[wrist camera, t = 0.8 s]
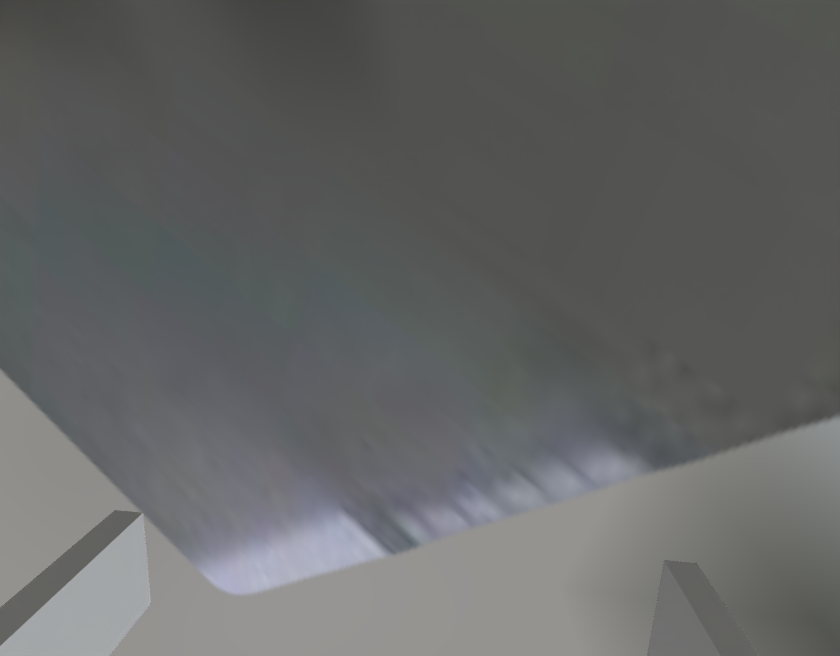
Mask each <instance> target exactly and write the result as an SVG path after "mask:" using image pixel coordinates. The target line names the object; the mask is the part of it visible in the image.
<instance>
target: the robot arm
mask: <svg viewBox="0 0 840 656" xmlns="http://www.w3.org/2000/svg"><path fill="white" fill-rule="evenodd" d="M150 604H151V598H150V586H149V575H148V564H147V552H146V541H145V529H144V518H143V513H138V512H128V511H117V510H115V511H114V512H113V513H111V514H110V515H109V516H108V517H106V518H105V519H104V520H103V521H102V522H101V523H99V524H98V525H97V526H96V527H95V528H93V529H92V530H91V531H90V532H89V533H88V534H86V535H85V536H84V537H83V538H82V539H81V540H79V541H78V542H77V543H76V544H75V545H74V546H72V547H71V548H70V549H69V550H68V551H66V552H65V553H64V554H63V555H62V556H61V557H59V558H58V559H57V560H56V561H55V562H53V563H52V564H51V565H50V566H49V567H48V568H46V569H45V570H44V571H43V572H42V573H41V574H40V575H38V576H37V577H36V578H35V579H33V580H32V581H31V582H30V583H29V584H28V585H26V586H25V587H24V588H23V589H22V590H20V591H19V592H18V593H17V594H16V595H15V596H14V597H12V598H11V599H10V600H9V601H8V602H6V603H5V604H4V605H3V606H2V607H0V656H109V655H110V654H111V653H112V652H113V650H114V649H115V648H116V647H117V645H118V644H119V643H120V642H121V640H122V639H123V638H124V637H125V635H126V634H127V633H128V632H129V630H130V629H131V628H132V627H133V625H134V624H135V623H136V622H137V620H138V619H139V618H140V617H141V615H142V614H143V613H144V612H145V610H146V609H147V608H148V607H149V605H150ZM647 655H648V656H760V655H759V654H758V652H757V651H756V649H755V648H754V646H753V645H752V643H751V642H750V640H749V639H748V637H747V636H746V635H745V633H744V632H743V630H742V629H741V627H740V626H739V625H738V623H737V621H736V620H735V618H734V617H733V616H732V614H731V613H730V611H729V610H728V608H727V607H726V605H725V604H724V602H723V601H722V599H721V598H720V596H719V595H718V593H717V592H716V591H715V589H714V588H713V586H712V585H711V583H710V582H709V580H708V579H707V577H706V576H705V574H704V573H703V572H702V570H701V569H700V567H699V566H698V564H697V563H690V562H678V561H668V560H664V564H663V569H662V575H661V580H660V586H659V592H658V597H657V603H656V608H655V614H654V620H653V626H652V631H651V637H650V642H649V648H648V654H647Z"/></svg>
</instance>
